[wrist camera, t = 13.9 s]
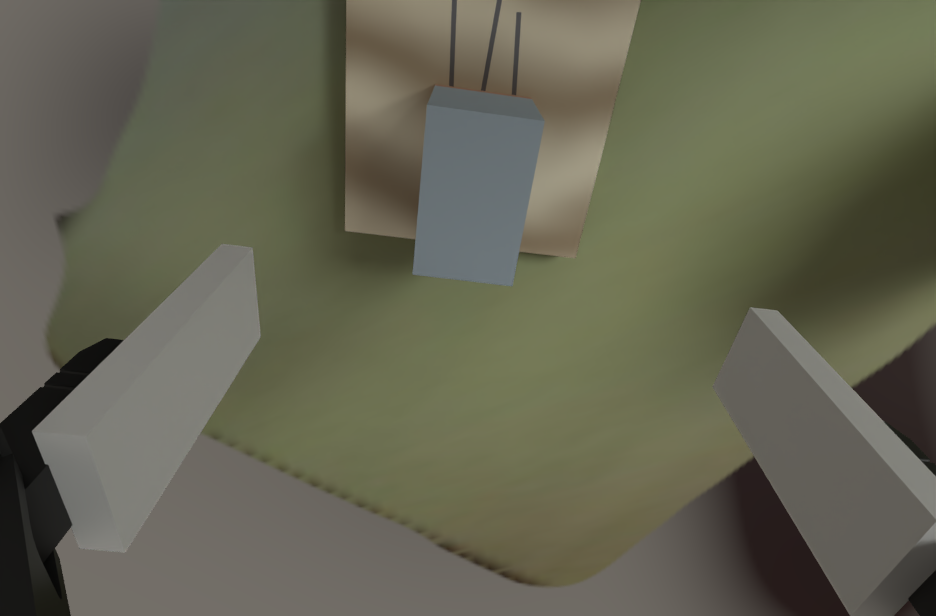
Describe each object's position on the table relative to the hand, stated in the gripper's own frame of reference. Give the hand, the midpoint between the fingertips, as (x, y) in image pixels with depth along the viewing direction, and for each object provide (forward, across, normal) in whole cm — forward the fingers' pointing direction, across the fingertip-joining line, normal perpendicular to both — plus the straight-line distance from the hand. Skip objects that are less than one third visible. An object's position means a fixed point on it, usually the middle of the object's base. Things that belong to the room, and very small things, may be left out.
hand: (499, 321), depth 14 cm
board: (+19, -1, +4) cm, 19 cm away
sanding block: (+17, -1, -1) cm, 17 cm away
